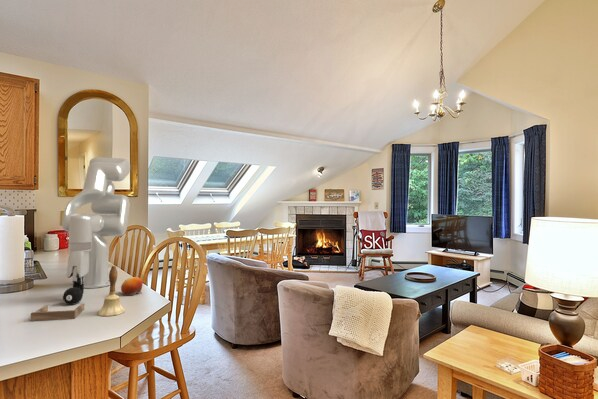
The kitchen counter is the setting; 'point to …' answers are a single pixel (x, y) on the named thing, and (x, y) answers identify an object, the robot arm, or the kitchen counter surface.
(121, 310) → the hand bell
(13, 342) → the kitchen counter surface
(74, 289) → the billiard ball
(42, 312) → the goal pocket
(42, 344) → the kitchen counter surface
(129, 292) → the fruit
